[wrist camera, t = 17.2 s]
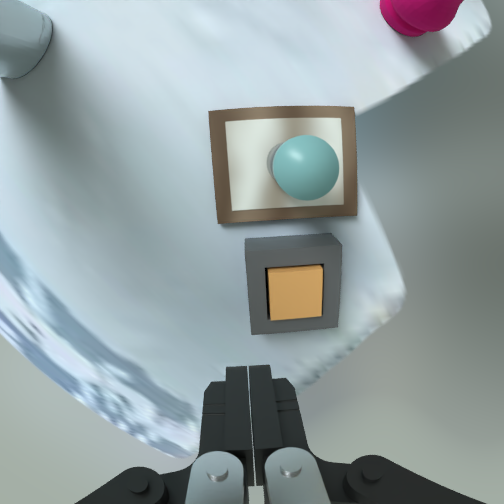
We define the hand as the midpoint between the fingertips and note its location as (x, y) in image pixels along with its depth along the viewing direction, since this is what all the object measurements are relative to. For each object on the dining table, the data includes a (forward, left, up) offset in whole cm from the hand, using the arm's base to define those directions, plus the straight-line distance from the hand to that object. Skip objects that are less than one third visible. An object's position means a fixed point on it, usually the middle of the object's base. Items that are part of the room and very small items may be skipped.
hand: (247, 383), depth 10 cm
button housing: (+4, -6, -22) cm, 24 cm away
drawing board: (+4, +6, -22) cm, 24 cm away
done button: (+4, -6, -22) cm, 23 cm away
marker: (+4, +6, -21) cm, 23 cm away
